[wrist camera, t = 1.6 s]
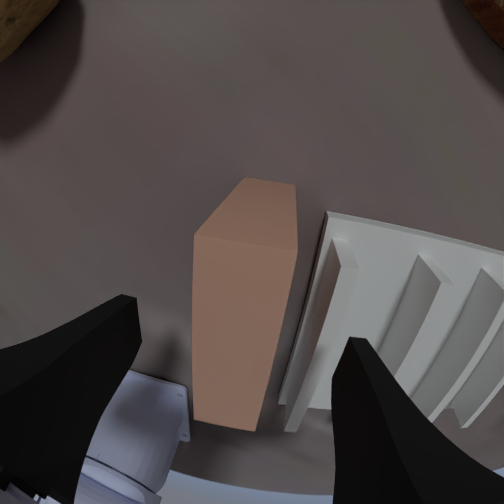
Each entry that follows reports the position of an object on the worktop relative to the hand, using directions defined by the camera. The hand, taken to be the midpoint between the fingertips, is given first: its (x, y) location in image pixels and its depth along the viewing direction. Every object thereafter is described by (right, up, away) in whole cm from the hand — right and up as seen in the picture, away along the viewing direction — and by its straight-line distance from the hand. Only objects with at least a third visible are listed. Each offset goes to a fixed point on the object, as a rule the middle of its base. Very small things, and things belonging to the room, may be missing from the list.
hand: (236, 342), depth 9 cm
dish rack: (+11, -3, +7) cm, 14 cm away
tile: (+1, +3, +6) cm, 7 cm away
